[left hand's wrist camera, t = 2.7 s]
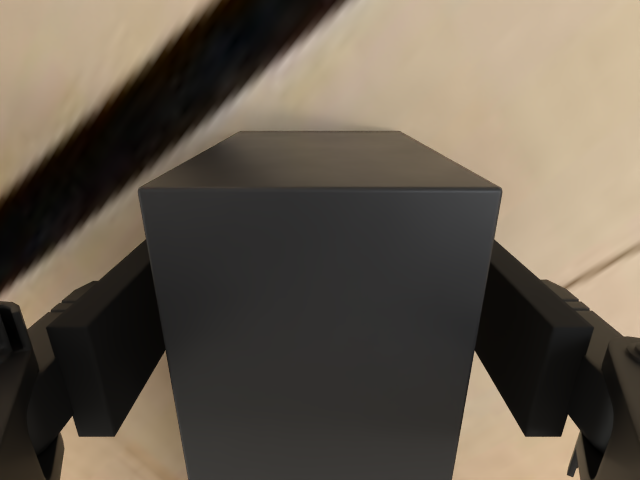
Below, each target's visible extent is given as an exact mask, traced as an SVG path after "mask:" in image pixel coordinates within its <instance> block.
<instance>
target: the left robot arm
mask: <svg viewBox="0 0 640 480" xmlns="http://www.w3.org/2000/svg"><path fill="white" fill-rule="evenodd" d="M589 309H590V308H588V307H587V306H586V305H585V304H583V303H582V302H579V299H577V298H576V297H575V296H574V295H573V294H571V293H570V292H569V291H568V290H566V289H565V288H563V287H561V286H559V285H557V284H555V283H553V282H551V281H549V280H540V279H539V278H537V277H536V276H535V275H534V274H533V273H532V272H531V271H530V270H528V269H527V268H526V267H525V266H524V265H523V264H522V263H520V262H519V261H518V260H517V259H516V258H515V257H514V256H512V255H511V254H510V253H509V252H508V251H507V250H506V249H504V248H503V247H502V246H501V245H500V244H499V243H498V242H496V241H495V240H494V242H493V248H492V254H491V259H490V265H489V271H488V276H487V282H486V288H485V294H484V299H483V305H482V311H481V316H480V322H479V328H478V333H477V339H476V345H475V352H476V353H477V355H478V357H479V358H480V360H481V362H482V364H483V365H484V367H485V369H486V370H487V372H488V374H489V375H490V377H491V379H492V381H493V382H494V384H495V386H496V387H497V389H498V391H499V393H500V394H501V396H502V398H503V399H504V401H505V403H506V404H507V406H508V408H509V410H510V411H511V413H512V415H513V416H514V418H515V420H516V421H517V423H518V425H519V427H520V428H521V430H522V432H523V433H524V435H525V437H561V435H562V432H563V429H564V426H565V422H566V419H567V416H568V415H569V416H570V417H571V419H572V420H573V421H574V423H575V424H576V425H577V427H578V428H579V429H580V433H579V436H578V439H577V442H576V445H575V448H574V451H573V454H572V457H571V460H570V463H569V467H568V472H567V475H568V476H571V477H573V476H574V473H575V470H576V468H578V467H579V473H580V480H640V338H635V337H628V336H626V337H624V336H622V335H621V334H620V333H619V332H617V331H616V330H615V329H614V328H613V327H611V326H610V325H609V324H608V323H607V322H605V321H604V320H603V319H602V318H600V317H599V316H598V315H597V314H596V313H594V312H593V311H590V310H589ZM165 350H166V349H165V344H164V338H163V332H162V326H161V321H160V315H159V309H158V304H157V298H156V292H155V287H154V281H153V275H152V270H151V264H150V258H149V252H148V247H147V241H146V240H145V241H144V242H142V243H141V244H140V245H139V246H138V247H137V248H136V249H134V250H133V251H132V252H131V253H130V254H129V255H128V256H126V257H125V258H124V259H123V260H122V261H121V262H120V263H118V264H117V265H116V266H115V267H114V268H113V269H112V270H110V271H109V272H108V273H107V274H106V275H105V276H104V277H103V278H101V279H100V280H99V281H92V282H90V283H88V284H86V285H84V286H82V287H80V288H78V289H76V290H74V291H73V292H72V293H71V294H70V295H68V296H67V297H66V298H65V299H64V300H62V303H59V304H58V305H56V306H55V307H54V308H53V309H52V310H51V312H48V313H47V314H45V315H44V316H43V317H42V318H41V319H39V320H38V321H37V322H36V323H35V324H33V325H32V326H31V327H30V328H29V329H27V328H26V325H25V322H24V319H23V316H22V313H21V310H20V307H19V305H17V304H15V303H13V302H3V301H0V480H60V475H61V468H62V461H63V455H64V443H63V439H62V436H61V433H60V431H61V430H62V429H63V427H64V426H65V425H66V423H67V422H68V421H69V420H70V418H71V417H72V416H73V419H74V422H75V426H76V429H77V432H78V435H79V437H115V435H116V433H117V432H118V430H119V428H120V427H121V425H122V423H123V421H124V420H125V418H126V416H127V415H128V413H129V411H130V410H131V408H132V406H133V404H134V403H135V401H136V399H137V398H138V396H139V394H140V393H141V391H142V389H143V387H144V386H145V384H146V382H147V381H148V379H149V377H150V375H151V374H152V372H153V370H154V369H155V367H156V365H157V364H158V362H159V360H160V358H161V357H162V355H163V353H164V352H165Z"/></svg>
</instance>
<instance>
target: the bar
mask: <svg viewBox="0 0 640 480" xmlns="http://www.w3.org/2000/svg"><path fill="white" fill-rule="evenodd" d="M138 196H139V201H140V207H141V213H142V218H143V224H144V230H145V235H146V241H147V247H148V252H149V258H150V264H151V270H152V275H153V281H154V287H155V292H156V298H157V304H158V309H159V315H160V321H161V326H162V332H163V338H164V344H165V349H166V355H167V361H168V366H169V372H170V378H171V383H172V389H173V395H174V400H175V406H176V412H177V418H178V423H179V429H180V435H181V440H182V446H183V452H184V457H185V463H186V469H187V474H188V480H452V475H453V470H454V464H455V458H456V453H457V447H458V441H459V436H460V430H461V424H462V419H463V413H464V407H465V402H466V396H467V390H468V385H469V379H470V373H471V367H472V362H473V356H474V350H475V345H476V339H477V333H478V328H479V322H480V316H481V311H482V305H483V299H484V294H485V288H486V282H487V276H488V271H489V265H490V259H491V254H492V248H493V242H494V237H495V231H496V225H497V220H498V214H499V208H500V203H501V197H502V188H500V187H499V186H497V185H495V184H493V183H492V182H490V181H488V180H486V179H484V178H483V177H481V176H479V175H477V174H475V173H474V172H472V171H470V170H468V169H467V168H465V167H463V166H461V165H459V164H458V163H456V162H454V161H452V160H450V159H449V158H447V157H445V156H443V155H442V154H440V153H438V152H436V151H434V150H433V149H431V148H429V147H427V146H425V145H424V144H422V143H420V142H418V141H417V140H415V139H413V138H411V137H409V136H408V135H406V134H404V133H402V132H400V131H240V132H238V133H236V134H234V135H233V136H231V137H229V138H227V139H225V140H224V141H222V142H220V143H218V144H217V145H215V146H213V147H211V148H209V149H208V150H206V151H204V152H202V153H200V154H199V155H197V156H195V157H193V158H192V159H190V160H188V161H186V162H184V163H183V164H181V165H179V166H177V167H175V168H174V169H172V170H170V171H168V172H167V173H165V174H163V175H161V176H159V177H158V178H156V179H154V180H152V181H150V182H149V183H147V184H145V185H143V186H142V187H140V188H139V189H138Z"/></svg>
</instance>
